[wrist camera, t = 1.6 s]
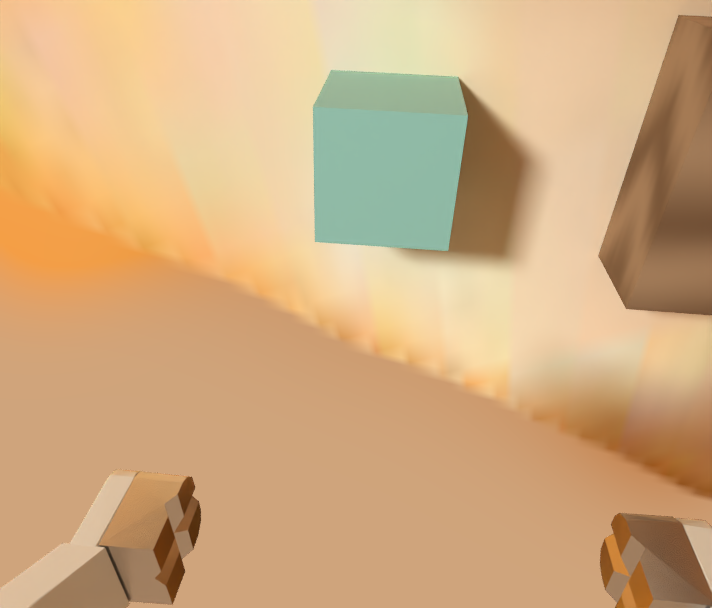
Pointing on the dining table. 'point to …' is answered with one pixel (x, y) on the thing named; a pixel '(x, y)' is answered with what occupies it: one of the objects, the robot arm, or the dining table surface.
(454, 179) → the teal cube
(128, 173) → the dining table surface
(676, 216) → the walnut base
